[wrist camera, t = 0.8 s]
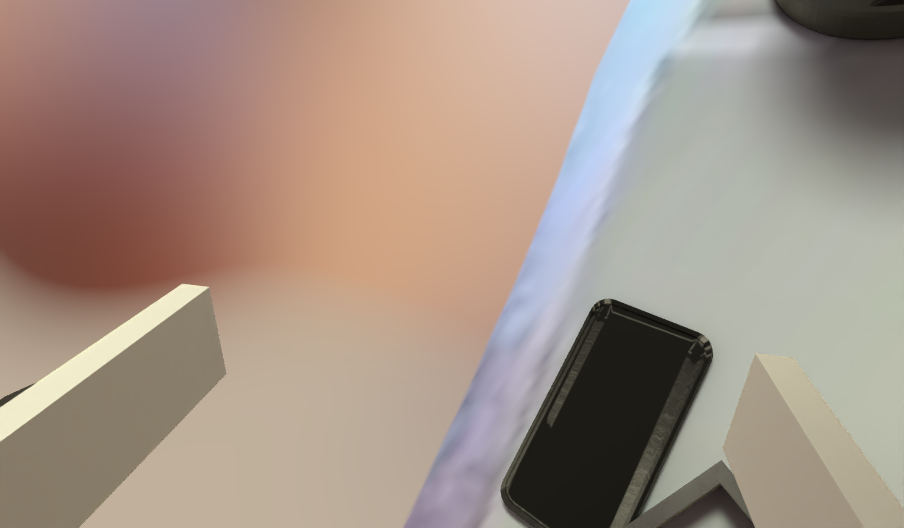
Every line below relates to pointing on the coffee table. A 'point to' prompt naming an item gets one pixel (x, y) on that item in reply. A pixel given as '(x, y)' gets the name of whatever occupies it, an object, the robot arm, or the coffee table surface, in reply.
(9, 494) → the robot arm
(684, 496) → the holder frame
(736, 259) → the coffee table surface
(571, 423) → the phone
